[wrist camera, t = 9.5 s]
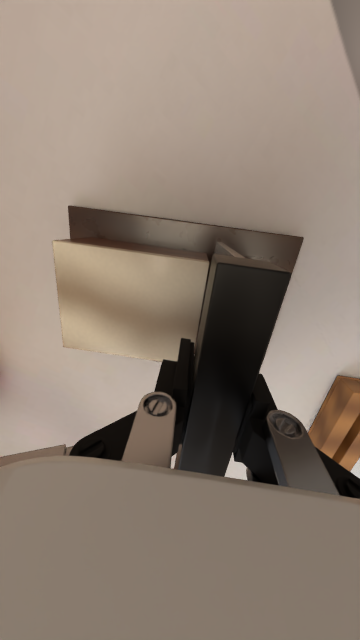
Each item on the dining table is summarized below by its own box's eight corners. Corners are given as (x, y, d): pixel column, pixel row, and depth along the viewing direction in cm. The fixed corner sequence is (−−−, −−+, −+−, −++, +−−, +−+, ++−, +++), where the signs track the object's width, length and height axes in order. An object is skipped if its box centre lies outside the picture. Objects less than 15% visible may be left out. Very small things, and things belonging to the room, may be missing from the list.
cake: (73, 206, 21) (18, 197, 15) (299, 237, 21) (345, 241, 14) (81, 333, 27) (44, 366, 20) (259, 360, 26) (279, 403, 20)
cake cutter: (205, 239, 15) (217, 262, 6) (233, 243, 15) (292, 272, 6) (183, 376, 20) (169, 514, 11) (204, 380, 20) (210, 520, 10)
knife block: (337, 375, 26) (353, 392, 24) (379, 381, 26) (400, 399, 23) (295, 456, 32) (304, 478, 30) (329, 462, 32) (341, 484, 29)
